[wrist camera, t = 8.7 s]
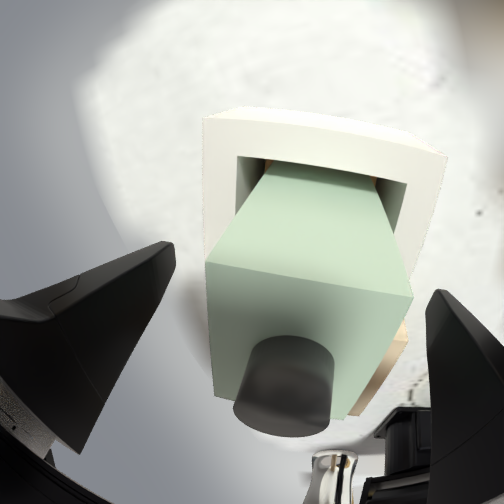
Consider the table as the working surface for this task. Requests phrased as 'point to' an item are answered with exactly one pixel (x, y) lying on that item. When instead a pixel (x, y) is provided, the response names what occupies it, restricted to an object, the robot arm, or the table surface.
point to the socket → (319, 154)
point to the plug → (303, 298)
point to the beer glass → (332, 477)
